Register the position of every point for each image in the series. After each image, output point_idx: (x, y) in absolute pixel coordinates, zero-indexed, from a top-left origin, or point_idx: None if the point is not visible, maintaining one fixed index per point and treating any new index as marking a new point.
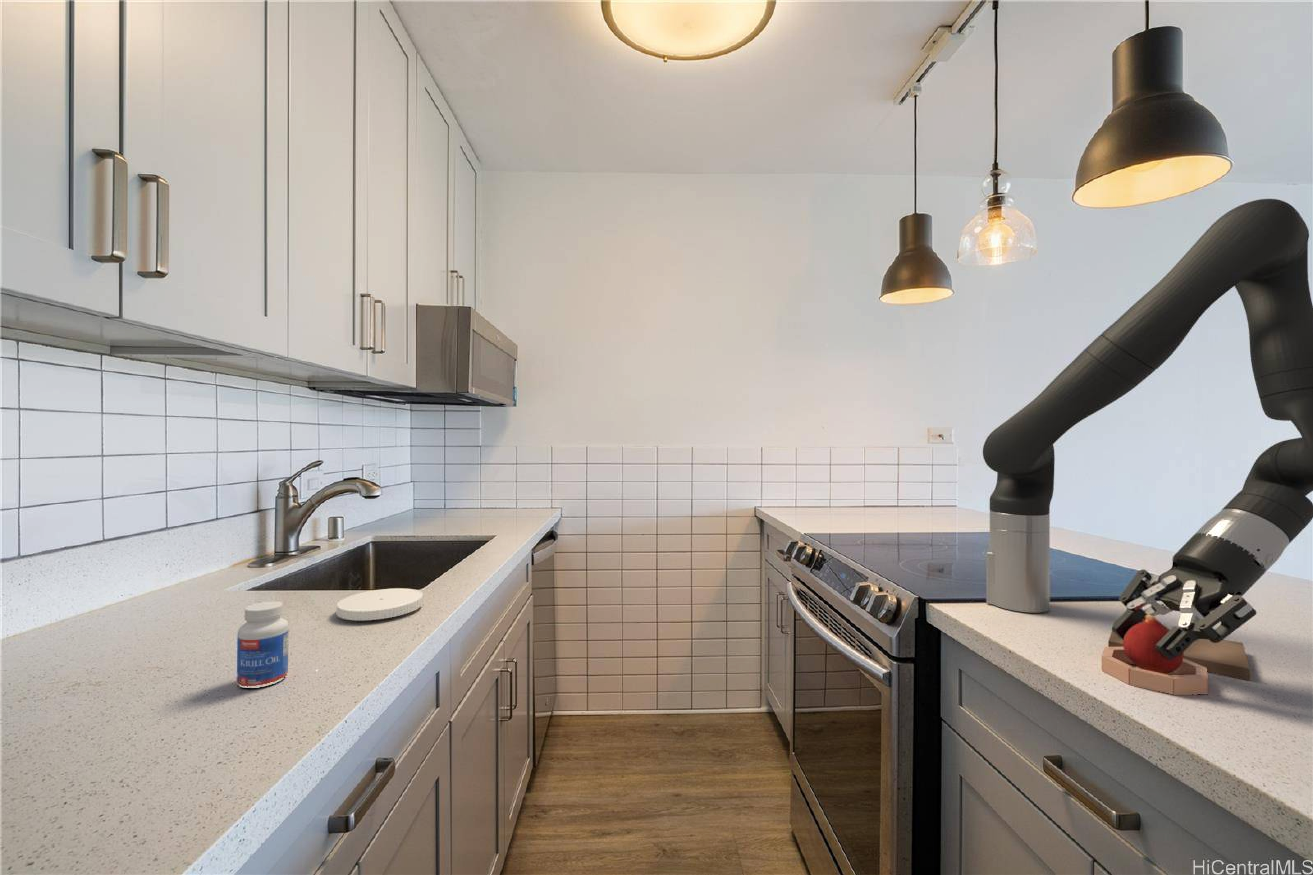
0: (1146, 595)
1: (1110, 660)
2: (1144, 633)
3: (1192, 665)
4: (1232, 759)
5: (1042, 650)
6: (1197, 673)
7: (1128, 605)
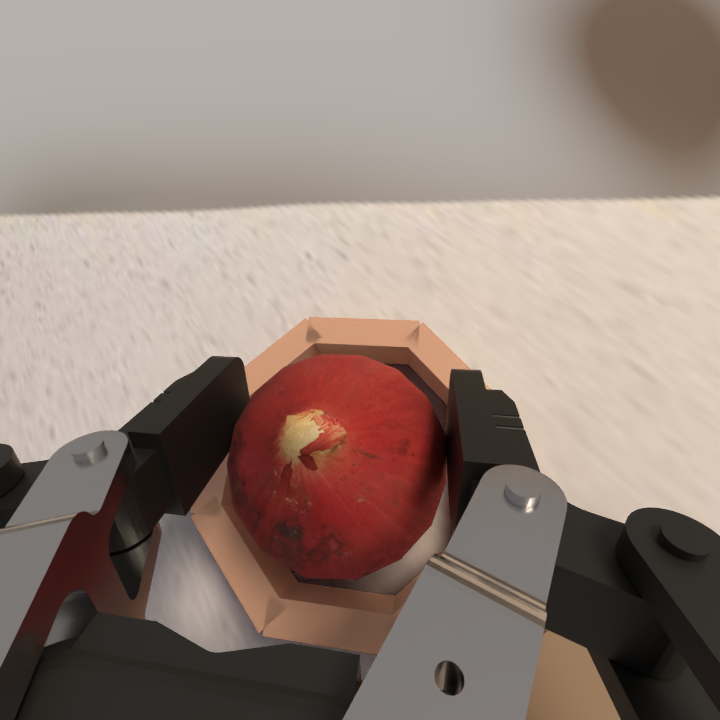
0: (455, 584)
1: (382, 320)
2: (300, 372)
3: (294, 601)
4: (26, 253)
5: (603, 282)
6: (227, 523)
7: (545, 487)
